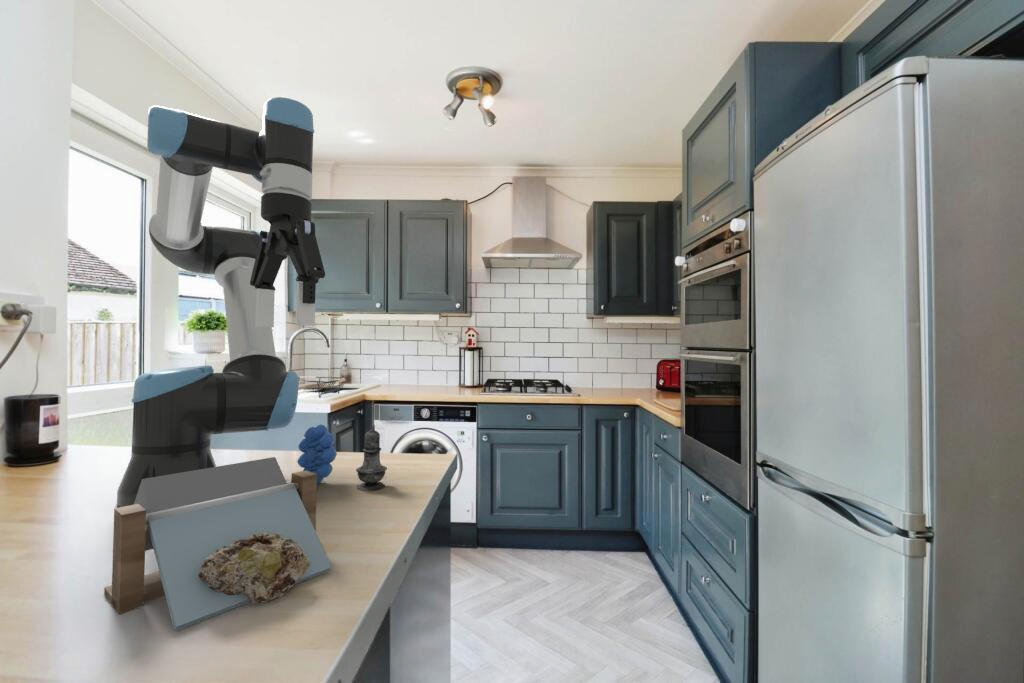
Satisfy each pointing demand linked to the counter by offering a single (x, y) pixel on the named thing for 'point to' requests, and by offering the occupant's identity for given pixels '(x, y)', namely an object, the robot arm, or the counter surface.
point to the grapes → (317, 452)
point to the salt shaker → (371, 463)
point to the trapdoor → (219, 528)
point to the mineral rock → (256, 567)
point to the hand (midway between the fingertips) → (283, 326)
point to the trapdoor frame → (130, 549)
